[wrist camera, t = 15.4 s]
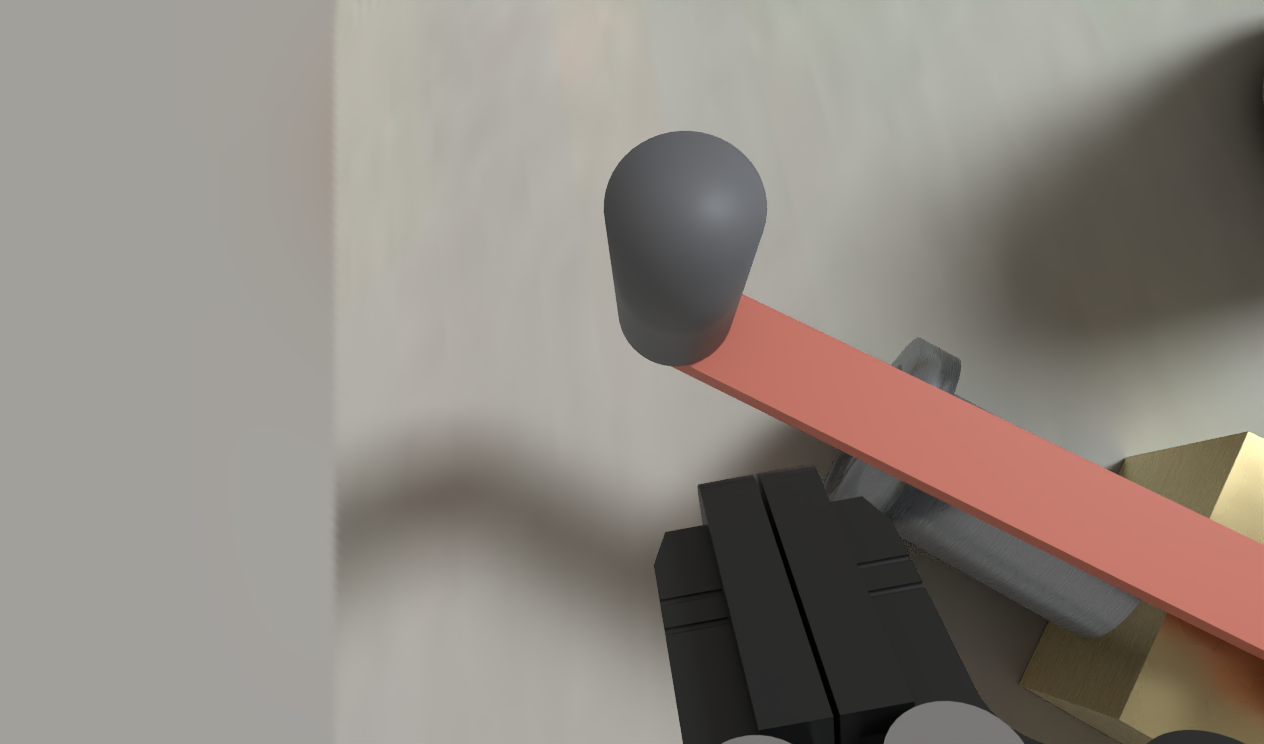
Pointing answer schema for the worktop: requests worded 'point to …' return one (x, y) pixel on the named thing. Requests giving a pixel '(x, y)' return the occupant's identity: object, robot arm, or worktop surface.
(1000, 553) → the valve body
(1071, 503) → the lever
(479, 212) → the worktop surface
